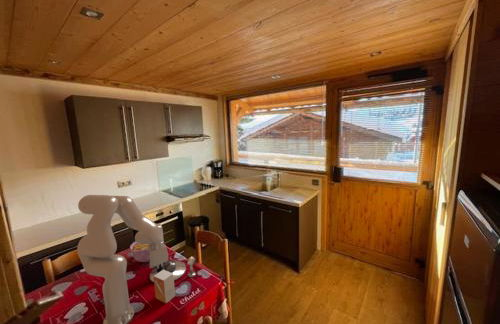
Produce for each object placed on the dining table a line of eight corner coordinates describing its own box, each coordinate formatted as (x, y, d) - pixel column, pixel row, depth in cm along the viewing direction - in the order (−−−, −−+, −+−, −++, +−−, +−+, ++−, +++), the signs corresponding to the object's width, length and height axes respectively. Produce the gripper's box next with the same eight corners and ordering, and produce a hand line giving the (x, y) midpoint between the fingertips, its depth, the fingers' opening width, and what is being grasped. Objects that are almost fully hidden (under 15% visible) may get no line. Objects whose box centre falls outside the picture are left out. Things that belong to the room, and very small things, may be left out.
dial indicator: (197, 274, 131) (195, 256, 130) (190, 278, 128) (188, 260, 127) (193, 271, 135) (191, 254, 133) (186, 275, 132) (185, 257, 130)
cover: (178, 269, 135) (177, 262, 135) (167, 274, 130) (166, 267, 130) (173, 265, 140) (172, 257, 139) (162, 270, 135) (161, 262, 134)
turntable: (192, 271, 134) (191, 262, 133) (158, 289, 120) (157, 279, 119) (176, 258, 149) (175, 250, 148) (144, 273, 135) (143, 264, 134)
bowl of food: (168, 255, 155) (167, 240, 153) (142, 270, 138) (140, 253, 136) (152, 248, 165) (150, 234, 164) (125, 262, 148) (123, 246, 147)
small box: (155, 298, 113) (153, 275, 112) (165, 290, 119) (163, 269, 117) (165, 304, 109) (163, 280, 108) (175, 295, 115) (173, 273, 113)
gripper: (146, 252, 121) (149, 282, 123) (171, 242, 131) (174, 270, 133) (141, 247, 126) (144, 276, 128) (166, 238, 136) (169, 265, 138)
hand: (160, 273), depth 131 cm, fingers closed
